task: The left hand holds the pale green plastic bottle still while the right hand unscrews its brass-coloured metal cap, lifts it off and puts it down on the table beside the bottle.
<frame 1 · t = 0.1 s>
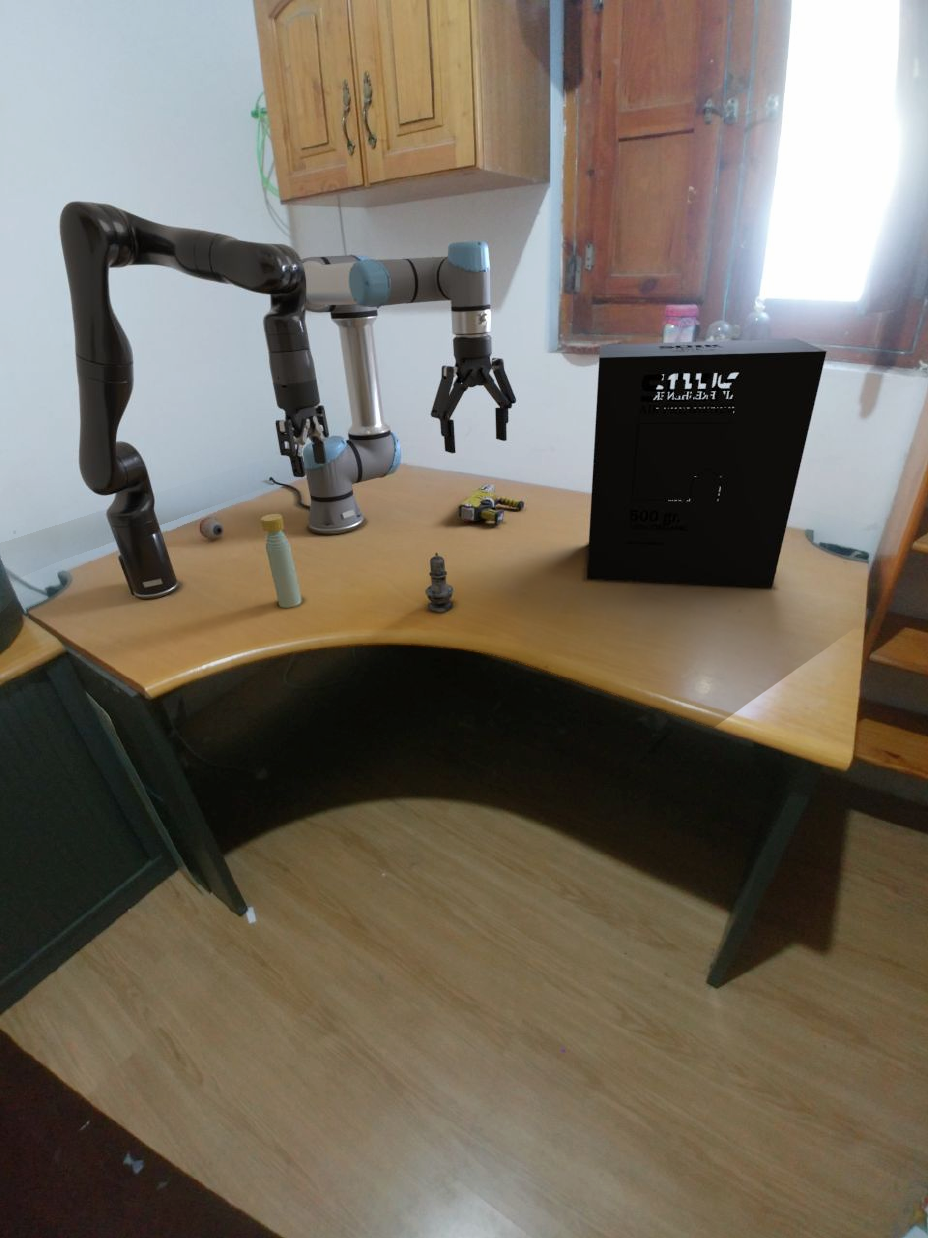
left hand: (310, 469, 113), 29 cm above the table, tool pointing down, fingers open, 8 cm apart
right hand: (476, 445, 127), 28 cm above the table, tool pointing down, fingers open, 13 cm apart
eyeball: (214, 539, 165), on the table
cap: (271, 518, 121), point 19 cm above the table, screwed on, not yet turned
bottle: (290, 602, 130), on the table
toy gun: (495, 511, 173), on the table
cardboard box: (672, 564, 137), on the table
grey chess piece: (440, 606, 125), on the table
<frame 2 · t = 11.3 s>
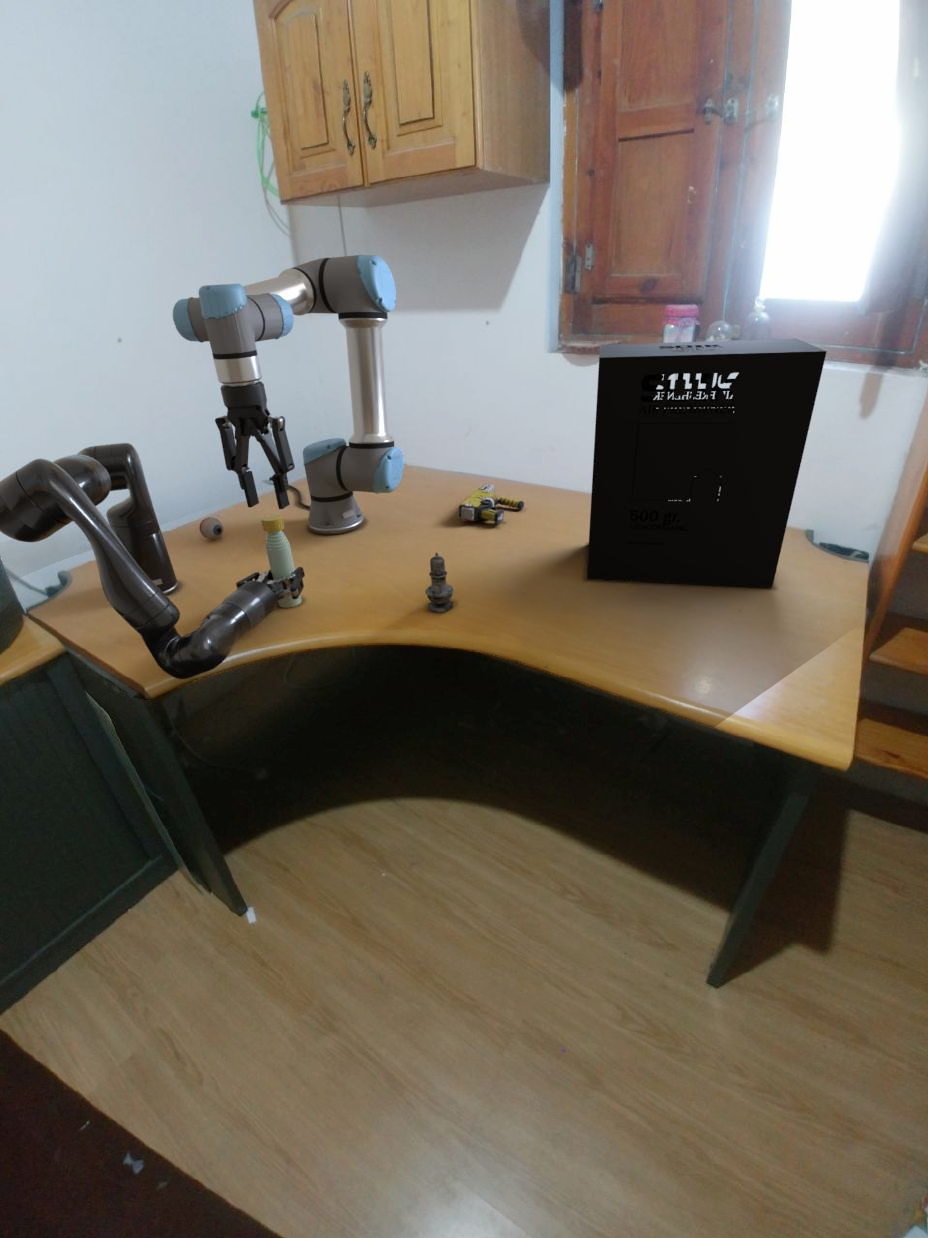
left hand: (290, 570, 129), 7 cm above the table, tool horizontal, fingers closed on bottle, 4 cm apart
right hand: (268, 505, 119), 22 cm above the table, tool pointing down, fingers open, 6 cm apart
bottle: (290, 602, 130), on the table, touching left hand
everything else where it was.
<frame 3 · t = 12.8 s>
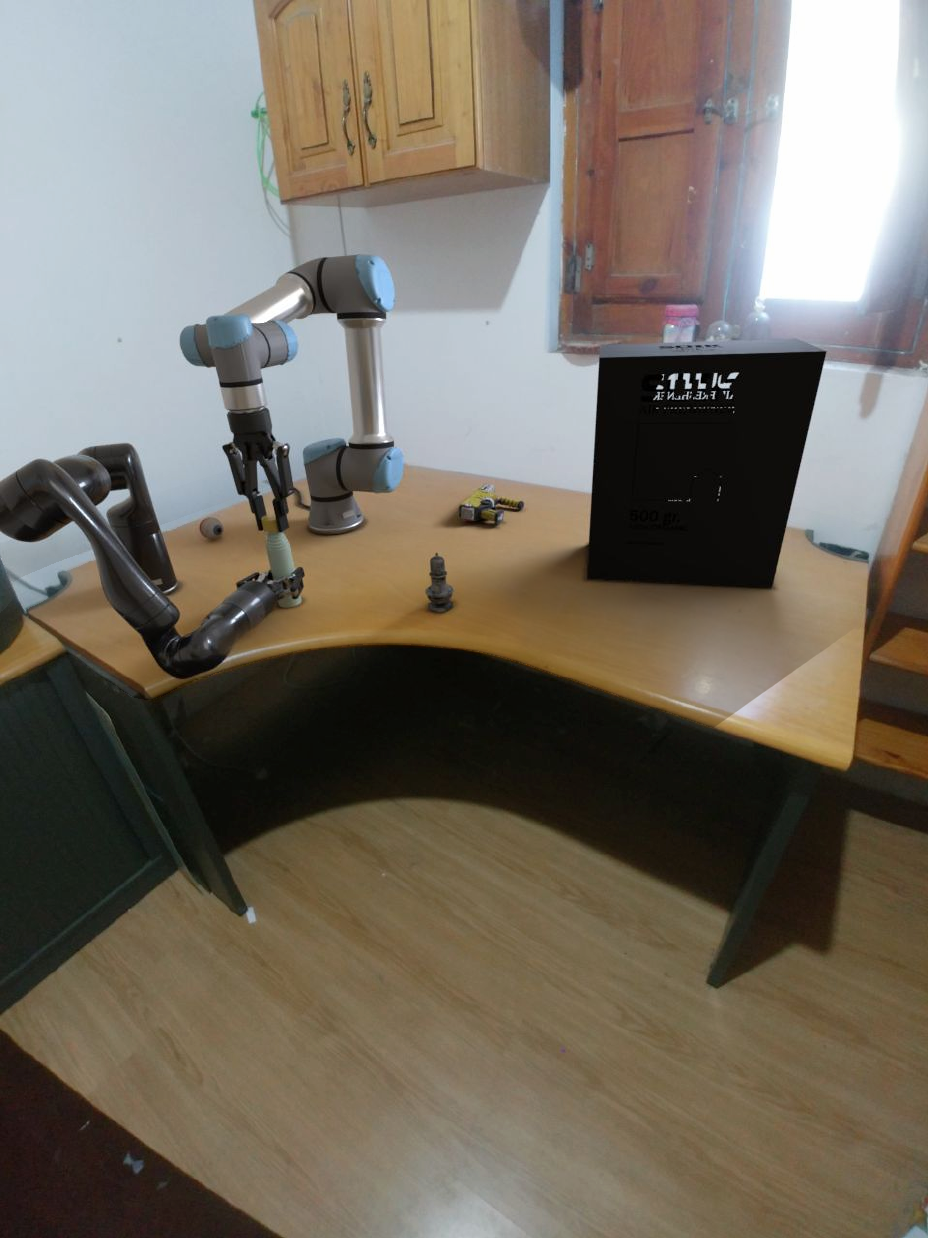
left hand: (290, 570, 129), 6 cm above the table, tool horizontal, fingers closed on bottle, 4 cm apart
right hand: (273, 528, 122), 17 cm above the table, tool pointing down, fingers closed on cap, 4 cm apart
cap: (271, 518, 121), point 19 cm above the table, screwed on, not yet turned, touching right hand
bottle: (290, 602, 130), on the table, touching left hand
everything else where it was.
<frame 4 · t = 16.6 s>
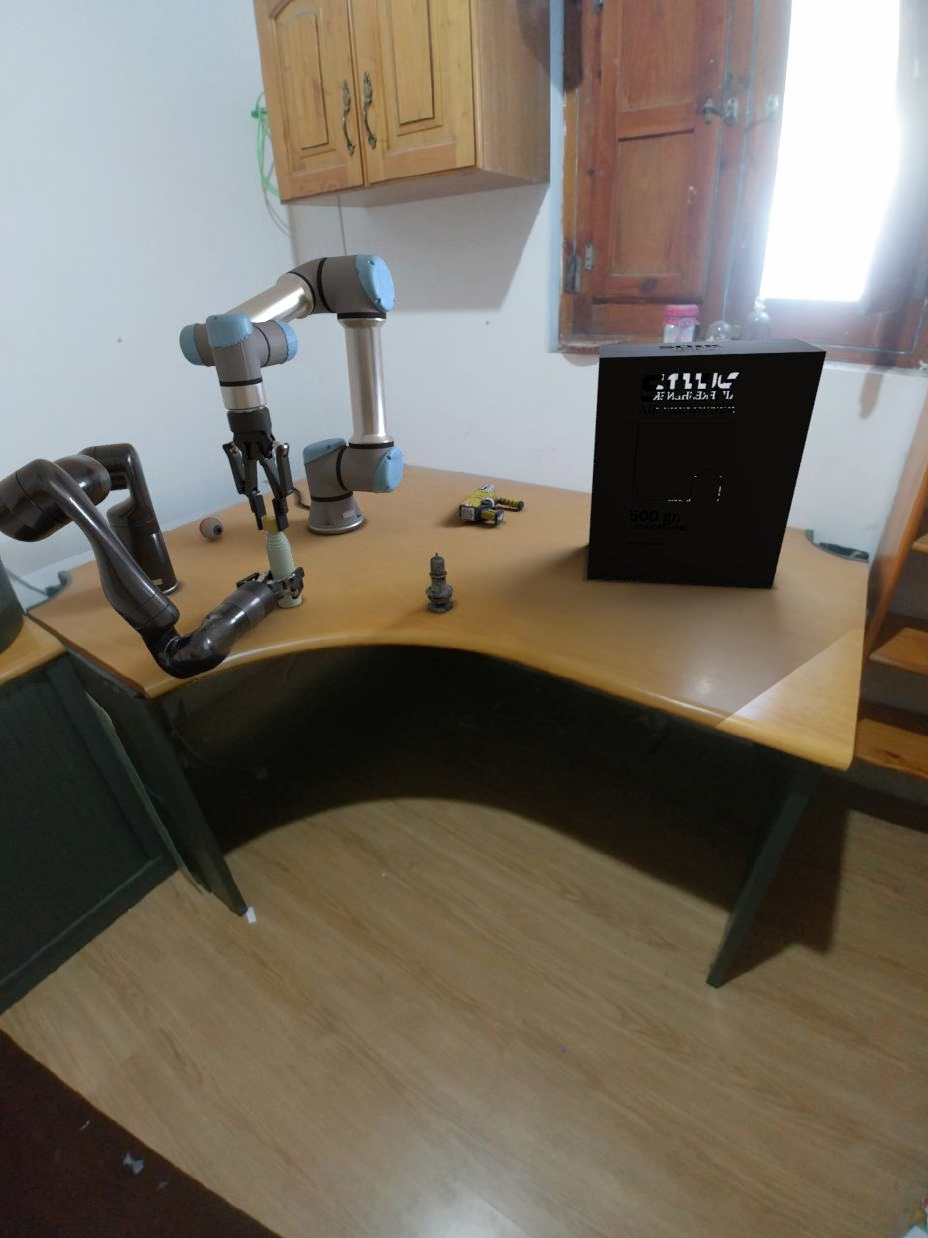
left hand: (290, 570, 129), 6 cm above the table, tool horizontal, fingers closed on bottle, 4 cm apart
right hand: (273, 528, 122), 17 cm above the table, tool pointing down, fingers closed on cap, 4 cm apart
cap: (271, 518, 121), point 19 cm above the table, turned 144° so far, risen 0.1 cm, still on its thread, touching right hand
bottle: (290, 602, 130), on the table, touching left hand
everything else where it was.
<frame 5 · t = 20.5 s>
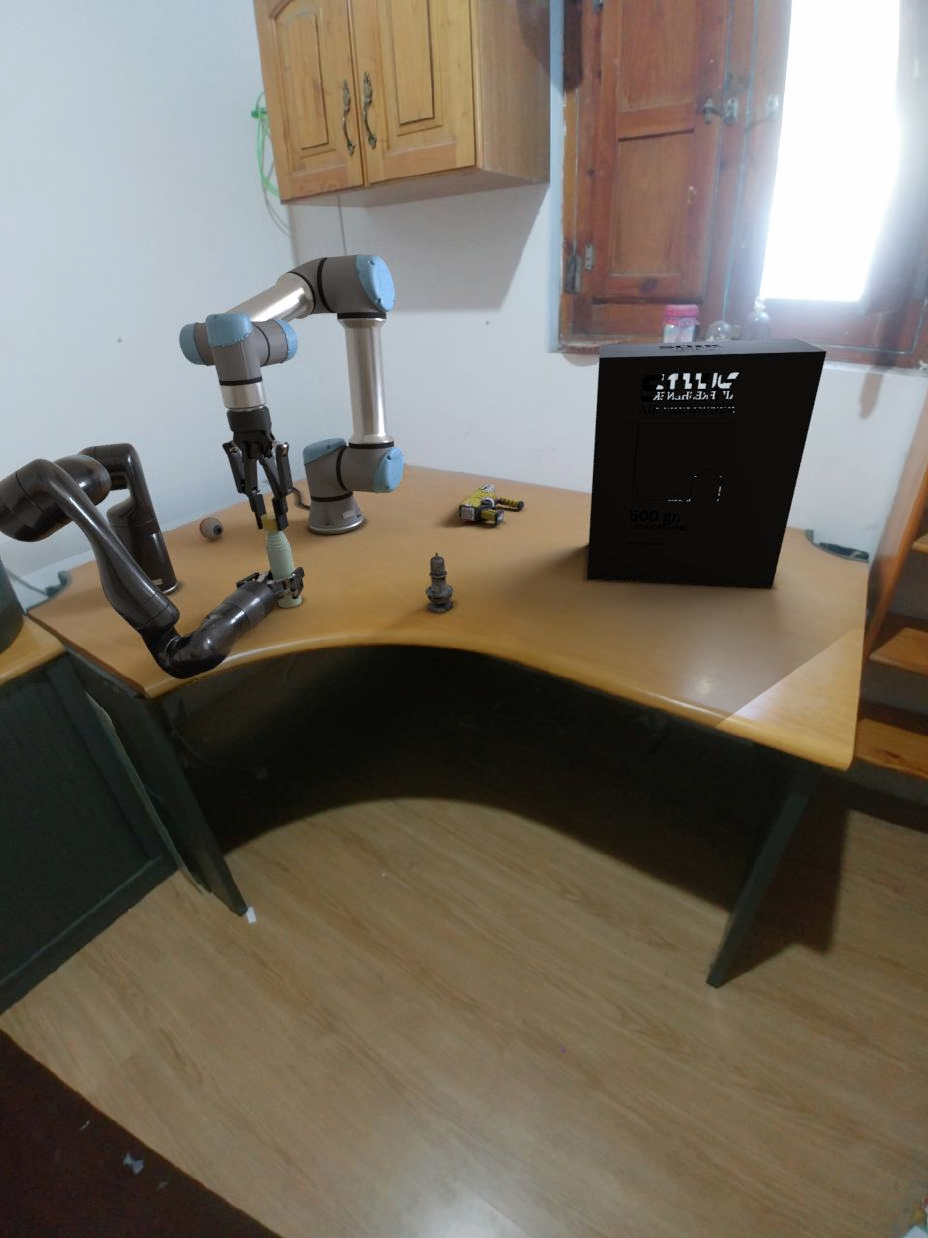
left hand: (290, 570, 129), 6 cm above the table, tool horizontal, fingers closed on bottle, 4 cm apart
right hand: (273, 527, 122), 17 cm above the table, tool pointing down, fingers closed on cap, 4 cm apart
cap: (271, 517, 121), point 19 cm above the table, turned 288° so far, risen 0.3 cm, still on its thread, touching right hand
bottle: (290, 602, 130), on the table, touching left hand
everything else where it was.
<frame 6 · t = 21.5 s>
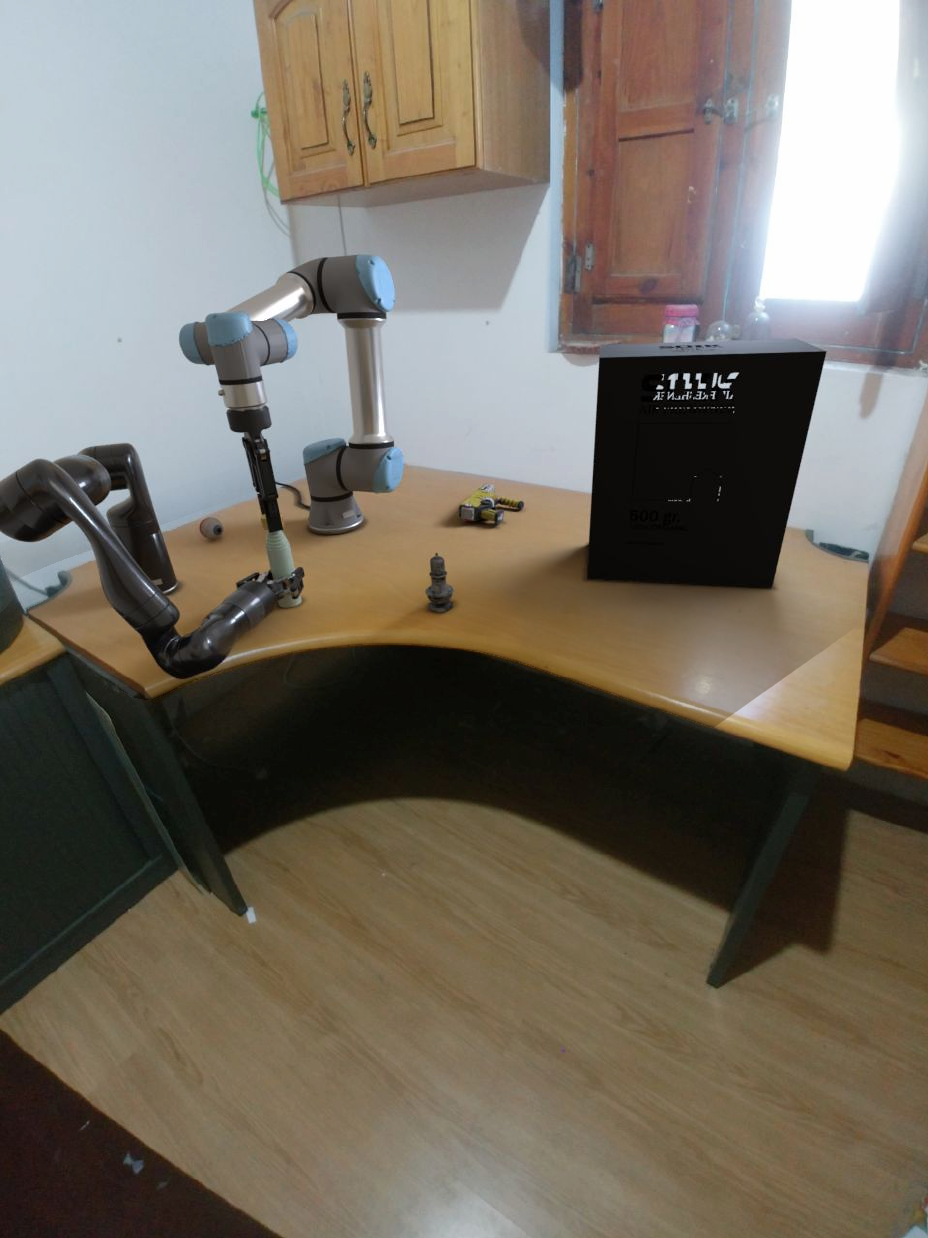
left hand: (290, 570, 129), 6 cm above the table, tool horizontal, fingers closed on bottle, 4 cm apart
right hand: (273, 526, 122), 17 cm above the table, tool pointing down, fingers closed on cap, 4 cm apart
cap: (271, 516, 121), point 20 cm above the table, off its thread, touching right hand
bottle: (290, 602, 130), on the table, touching left hand
everything else where it was.
when the right hand's fingers open (1 cm above the table, at t = 27.1 s): cap stays where it is, point 2 cm above the table.
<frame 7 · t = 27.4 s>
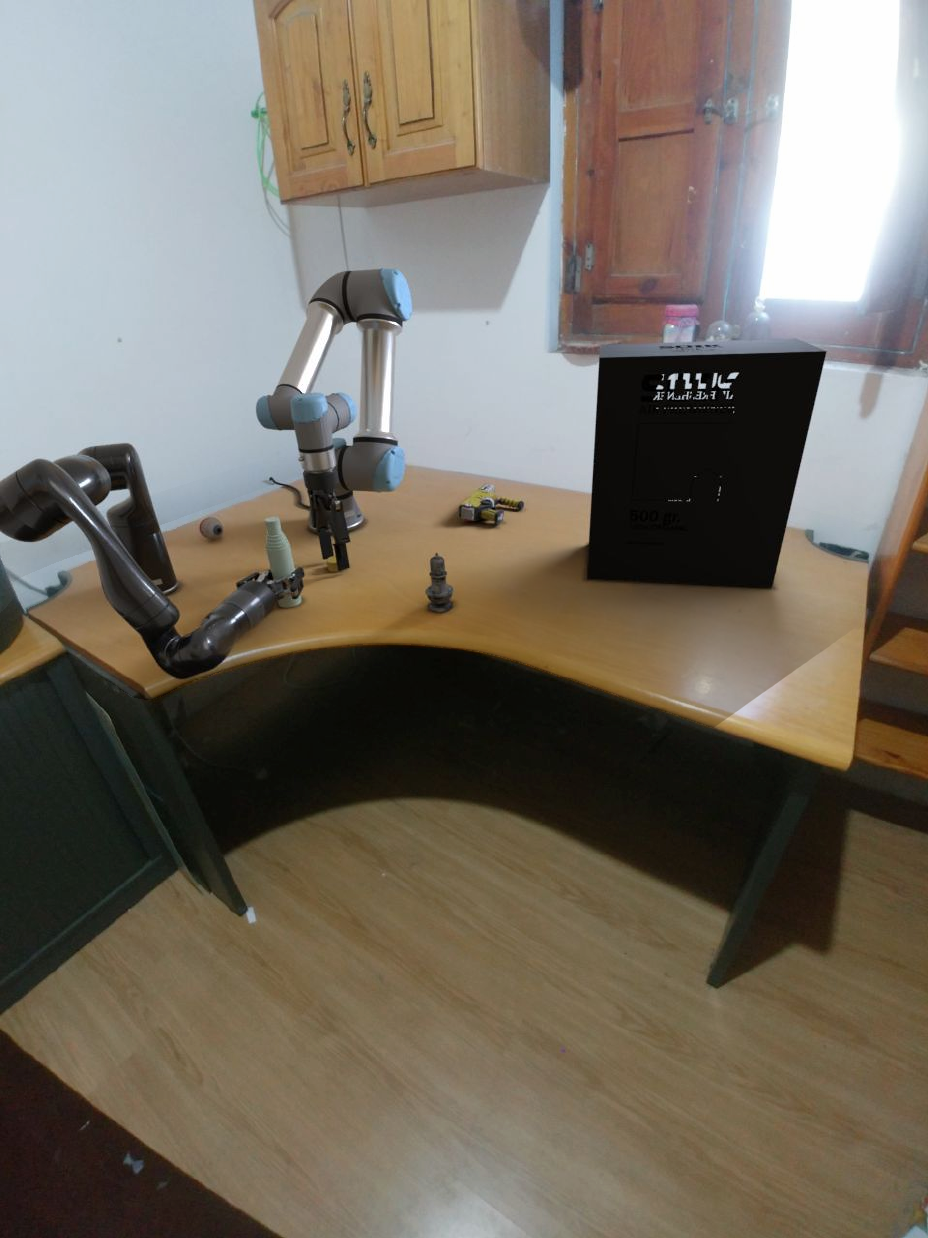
left hand: (290, 570, 129), 7 cm above the table, tool horizontal, fingers closed on bottle, 4 cm apart
right hand: (336, 563, 144), 1 cm above the table, tool pointing down, fingers open, 8 cm apart
cap: (335, 560, 143), point 2 cm above the table, off its thread
bottle: (290, 602, 130), on the table, touching left hand
everything else where it was.
when the left hand's fingers open (7 cm above the table, at t = 28.4 s): bottle stays where it is, on the table.
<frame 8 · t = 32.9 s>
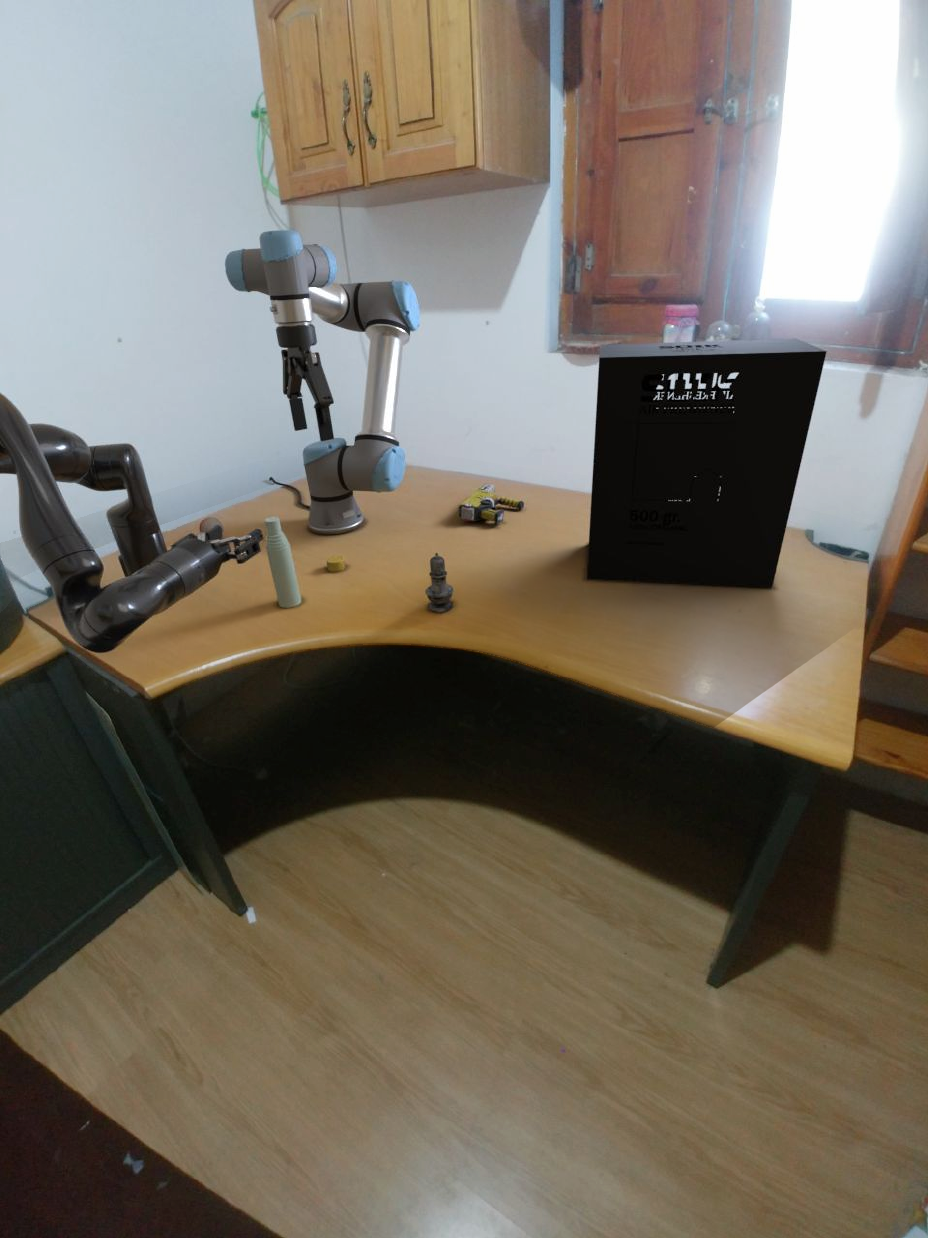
left hand: (240, 532, 111), 20 cm above the table, tool horizontal, fingers open, 8 cm apart
right hand: (313, 434, 129), 31 cm above the table, tool pointing down, fingers open, 13 cm apart
bottle: (290, 602, 130), on the table
everything else where it was.
at the end: cap came off its thread; cap point 2.1 cm above the table; the left hand is holding nothing; the right hand is holding nothing; bottle tilted 0°; bottle moved 0.0 cm from its start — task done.
